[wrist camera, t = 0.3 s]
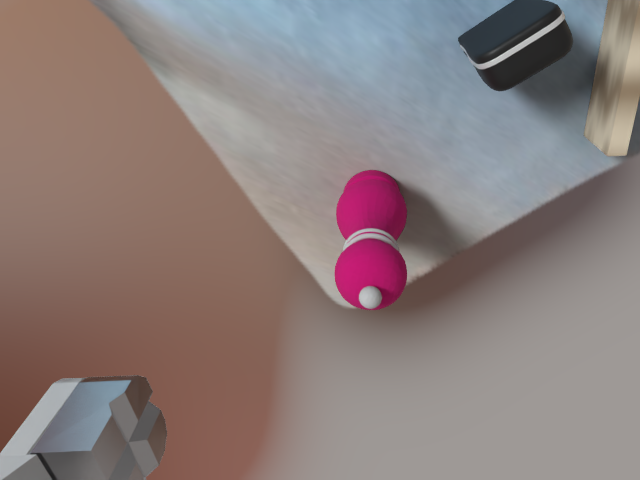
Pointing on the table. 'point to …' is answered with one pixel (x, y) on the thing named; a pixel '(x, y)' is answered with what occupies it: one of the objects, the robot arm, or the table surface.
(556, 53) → the battery charger
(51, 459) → the robot arm
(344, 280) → the pepper mill
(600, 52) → the wooden plank
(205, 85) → the table surface
